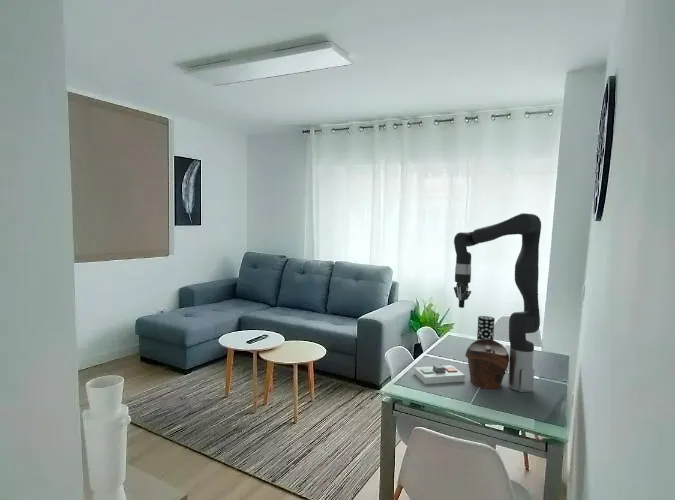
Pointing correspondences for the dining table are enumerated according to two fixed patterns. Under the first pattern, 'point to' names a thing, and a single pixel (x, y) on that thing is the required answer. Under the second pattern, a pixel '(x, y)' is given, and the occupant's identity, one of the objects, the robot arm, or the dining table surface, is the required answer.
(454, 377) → the keypad board
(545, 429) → the dining table surface
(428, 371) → the key sage
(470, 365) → the brown wooden rounded tub
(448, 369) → the key terracotta
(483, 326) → the white-spotted black cylinder
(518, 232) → the robot arm
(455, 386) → the dining table surface
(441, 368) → the key charcoal
